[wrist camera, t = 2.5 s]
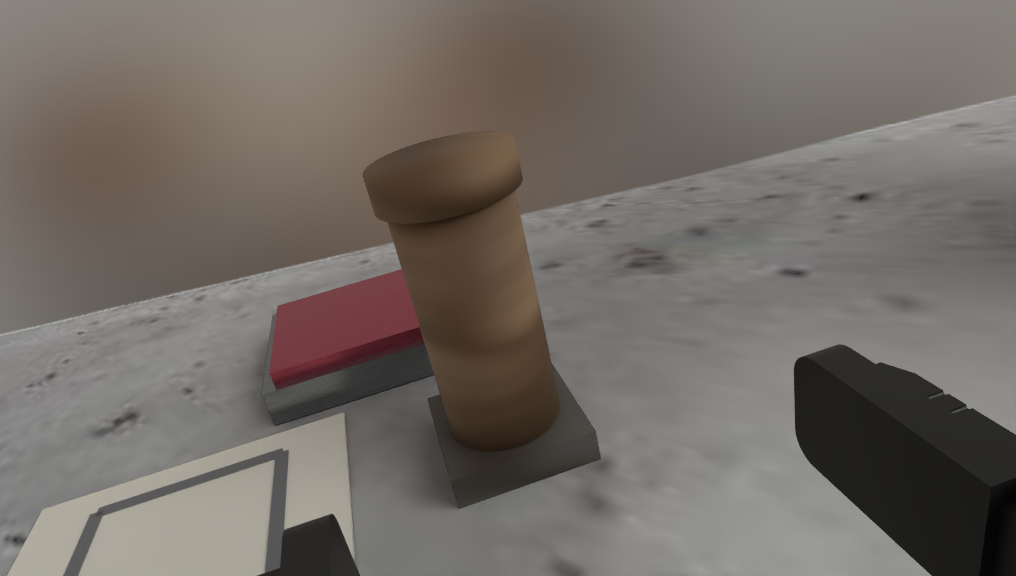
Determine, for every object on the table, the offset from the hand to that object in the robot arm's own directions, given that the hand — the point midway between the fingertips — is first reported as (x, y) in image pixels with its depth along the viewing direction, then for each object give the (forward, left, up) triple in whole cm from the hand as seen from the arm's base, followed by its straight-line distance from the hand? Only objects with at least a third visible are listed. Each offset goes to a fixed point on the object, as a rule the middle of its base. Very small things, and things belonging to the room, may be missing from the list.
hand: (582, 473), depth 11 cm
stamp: (0, -11, -8) cm, 14 cm away
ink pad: (+5, -21, -8) cm, 23 cm away
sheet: (+12, -11, -8) cm, 18 cm away
